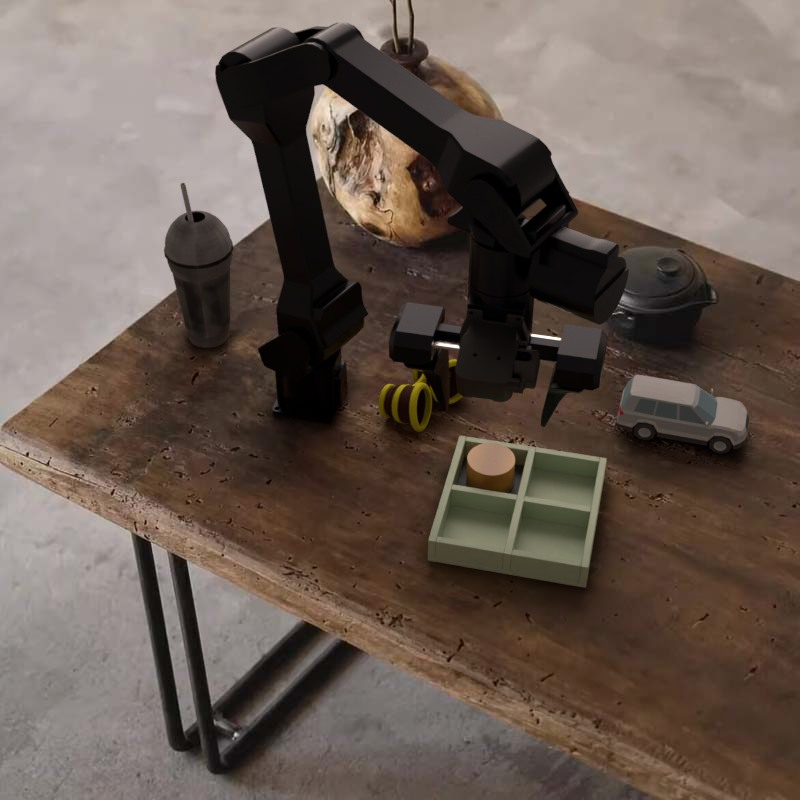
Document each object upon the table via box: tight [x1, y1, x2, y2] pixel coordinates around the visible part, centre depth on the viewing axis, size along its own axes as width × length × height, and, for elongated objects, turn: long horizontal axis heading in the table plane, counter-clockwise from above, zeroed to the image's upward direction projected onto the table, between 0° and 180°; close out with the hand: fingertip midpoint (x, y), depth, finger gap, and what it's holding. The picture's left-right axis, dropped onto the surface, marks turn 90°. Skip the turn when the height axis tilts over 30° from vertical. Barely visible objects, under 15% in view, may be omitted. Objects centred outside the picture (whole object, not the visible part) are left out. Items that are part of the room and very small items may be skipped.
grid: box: [427, 435, 608, 589], centre depth 124 cm, size 14×14×3 cm
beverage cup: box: [163, 182, 234, 349], centre depth 139 cm, size 7×7×20 cm
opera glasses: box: [378, 358, 464, 433], centre depth 135 cm, size 10×5×5 cm, turn 141°
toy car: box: [615, 374, 750, 454], centre depth 132 cm, size 6×13×5 cm, turn 74°
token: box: [466, 443, 515, 493], centre depth 126 cm, size 5×5×3 cm
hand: (494, 416), depth 122 cm, fingers open, 9 cm apart
